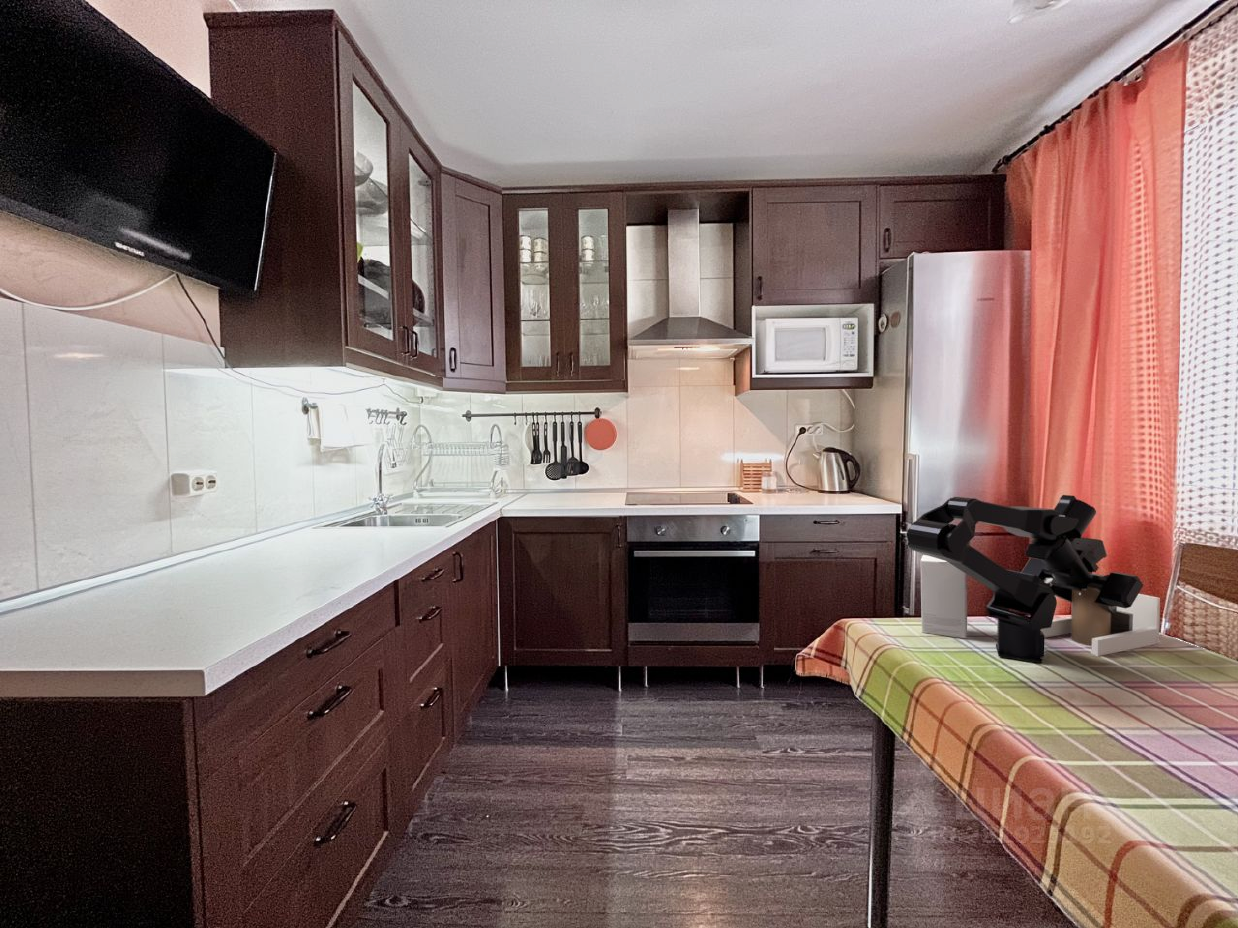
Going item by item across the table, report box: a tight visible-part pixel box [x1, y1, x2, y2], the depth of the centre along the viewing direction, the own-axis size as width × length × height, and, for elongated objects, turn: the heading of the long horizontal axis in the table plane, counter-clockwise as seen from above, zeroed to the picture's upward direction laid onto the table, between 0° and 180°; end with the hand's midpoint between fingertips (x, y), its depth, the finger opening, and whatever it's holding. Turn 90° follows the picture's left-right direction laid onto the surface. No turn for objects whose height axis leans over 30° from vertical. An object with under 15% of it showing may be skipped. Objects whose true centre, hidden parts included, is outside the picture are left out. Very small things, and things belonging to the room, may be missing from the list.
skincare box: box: [919, 554, 968, 639], centre depth 115 cm, size 8×7×16 cm
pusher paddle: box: [1111, 610, 1133, 635], centre depth 111 cm, size 1×8×6 cm, turn 19°
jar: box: [1070, 573, 1111, 647], centre depth 109 cm, size 6×6×13 cm
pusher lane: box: [1041, 593, 1161, 657], centre depth 110 cm, size 18×11×9 cm, turn 109°
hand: (1095, 607), depth 109 cm, fingers closed on jar, 6 cm apart
